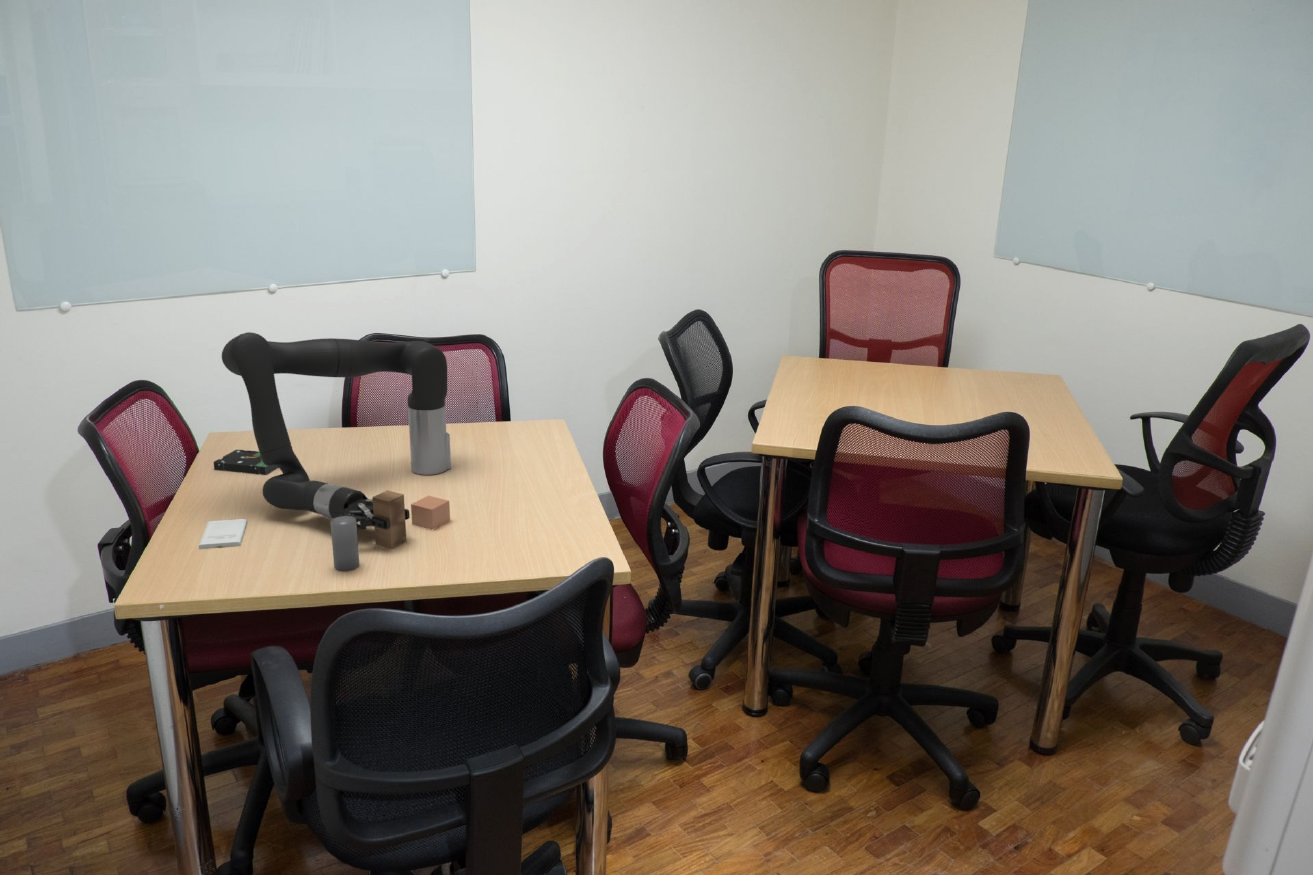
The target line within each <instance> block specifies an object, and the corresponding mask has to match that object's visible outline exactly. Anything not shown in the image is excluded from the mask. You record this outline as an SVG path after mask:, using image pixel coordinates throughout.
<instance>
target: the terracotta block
mask: <svg viewBox="0 0 1313 875" xmlns="http://www.w3.org/2000/svg"><path fill="white" fill-rule="evenodd" d="M450 510H451V508H450V500H449V499H444V498H440V497H435V496H432V495H427V496H424V497H423V498H420V499H419V500H417V501H415V502H413V503H411V504H410V511H411V514H410V515H411V525H413V526H414V525H415V526H418V527H421V528H424V529H428V528H430V529H429V530H432V529H433V530H435V529H437V528H439V527H441V526H442V524H443V525H445V524H446V523H448V522H450V521H451V511H450ZM444 523H445V524H444ZM440 525H441V526H440ZM438 526H439V527H438ZM436 527H437V528H436ZM434 528H435V529H434Z"/></svg>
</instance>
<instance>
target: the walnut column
mask: <svg viewBox="0 0 1313 875" xmlns="http://www.w3.org/2000/svg"><path fill="white" fill-rule="evenodd" d="M371 499H372V500H373V514H374V516H379V517H382V518H386V519H388V520H389V523H390V528H389V529H387V530H385V529H382V528H378V527H375V526H374V527H373V528H374V539H375V540H374V541H375V545H376V546H380V547H384V548H387V549H390V550H393V549H395V548H396V547H398V546H401V545H403V544H405V543H407V525H406V520H405V509H406V508H405V494H403V493H399V492H395V491H392V490H384V491H383V492H381V493H378V494H376V495H374V496H372V497H371Z"/></svg>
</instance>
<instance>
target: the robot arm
mask: <svg viewBox="0 0 1313 875" xmlns="http://www.w3.org/2000/svg"><path fill="white" fill-rule="evenodd" d="M221 360H222V364H223V365H224V367H225V368H226V369H227V370H228V371H229V372H231V373H233V374H235V375H236V376H240V377H241V378H242V381H243V383H244V385H245V389H246V391H247V395H248V399H249V404H250V405H249V406H250V412H251V422H252V430H253V435H254V438H255V442H256V445H257V449H258V452H259V453H260V456H261V459H262V462H263V463H264V464H265V465H269V466H272V465H276V466H278V467H279V470H280V471H281V472H282V473H281V474H277V475H274V476H271V477H270V478H268V479H267V480H266V481H265V482H264V484H263V486H262V495H263V498H264V500H265V501H266V502H267V503H268V504H269V505H270V506H273V507H275V508H278V509H281V510H282V509H283V510H292V511H298V510H299V511H308V512H311V513H314V514H318V515H321V516H323V517H325V518H327V519H330V520H332V519H334V518H337V517H341V516H351V517H354V518H356V524H357V530H361V531H362V530H363V531H364V530H366V529H367V527H369V528H374V526H375V527H378V528H382V529H385V530H387V529H389V528H390V523H389V520H388V519H386V518H382V517H379V516H374V514H373V500H372V498H368V497H367V496H366V494H365V493H364V492H362V491H361V490H358V489H354V488H350V487H346V486H343V485H339V484H332V483H328V482H327V483H326V482H323V481H319V480H310V478H309V474H308V473H307V471H306V470H305V468H304V466H303V465H302V463H301V461H300V460H299V458H298V456H297V455H296V453H295V451H294V450H293V445H292V442H291V439H290V436H289V432H288V429H287V426H286V422H285V419H284V415H283V412H282V408H281V404H280V399H279V394H278V390H277V385H276V377H275V375H276V374H277V375H279V374H289V375H298V376H308V377H309V376H310V377H322V378H323V377H324V378H325V377H326V378H345V379H346V378H358V377H363V376H368V375H371V374H375V373H376V374H377V373H379V372H381V373H383V372H385V373H398V374H405V375H410V376H411V392H410V393H409V394H408V396H407V409H408V410H407V411H408V412H407V413H408V415H407V416H408V427H409V428H408V430H409V448H410V450H409V452H410V465H411V466H410V468H411V471H412V473H414V474H416V475H421V476H422V475H423V476H424V475H425V476H429V475H430V476H431V475H437V474H442V473H444V472H446V471H447V470H450V469H452V463H451V462H452V461H451V460H452V459H451V437H450V436H451V435H450V433H448V432H447V416H446V415H447V414H446V398H447V396H448V362H447V361H448V360H447V357H446V355H445V353H444V352H443V351H442V349H440V348H439V347H437V346H435V345H433V344H431V343H429V342H427V341H423V340H411V341H409V340H408V341H396V342H395V341H394V342H379V341H372V340H364V339H363V340H362V339H352V338H351V339H349V338H331V337H330V338H328V337H327V338H315V339H306V340H298V341H290V342H289V341H287V342H281V341H270V340H267V339H266V338H265V337H264V336H263V335H261V334H259V333H256V332H250V331H249V332H245V333H241V334H238V335H237V336H235V337H233V338H232V339H230V340H229V341H227V343H226V344H225V345H224V347H223V349H222V351H221ZM410 518H411V514H410V510H409V509H407V508H405V521H407V520H410ZM358 523H359V524H358Z"/></svg>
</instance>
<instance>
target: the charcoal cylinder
mask: <svg viewBox="0 0 1313 875" xmlns="http://www.w3.org/2000/svg"><path fill="white" fill-rule="evenodd" d="M329 522H330V533H331V534H330V535H331V545H332V556H333V558H332V559H333V567H334V569H335V570H336V571H339V572H349V571H354V570H355V569H357V568H359V567H360V553H359V542H358V540H359V538H358V529H357V524H358V523H357V524H356V518H354V517H351V516H341V517H337V518H334V519H330V521H329Z"/></svg>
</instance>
